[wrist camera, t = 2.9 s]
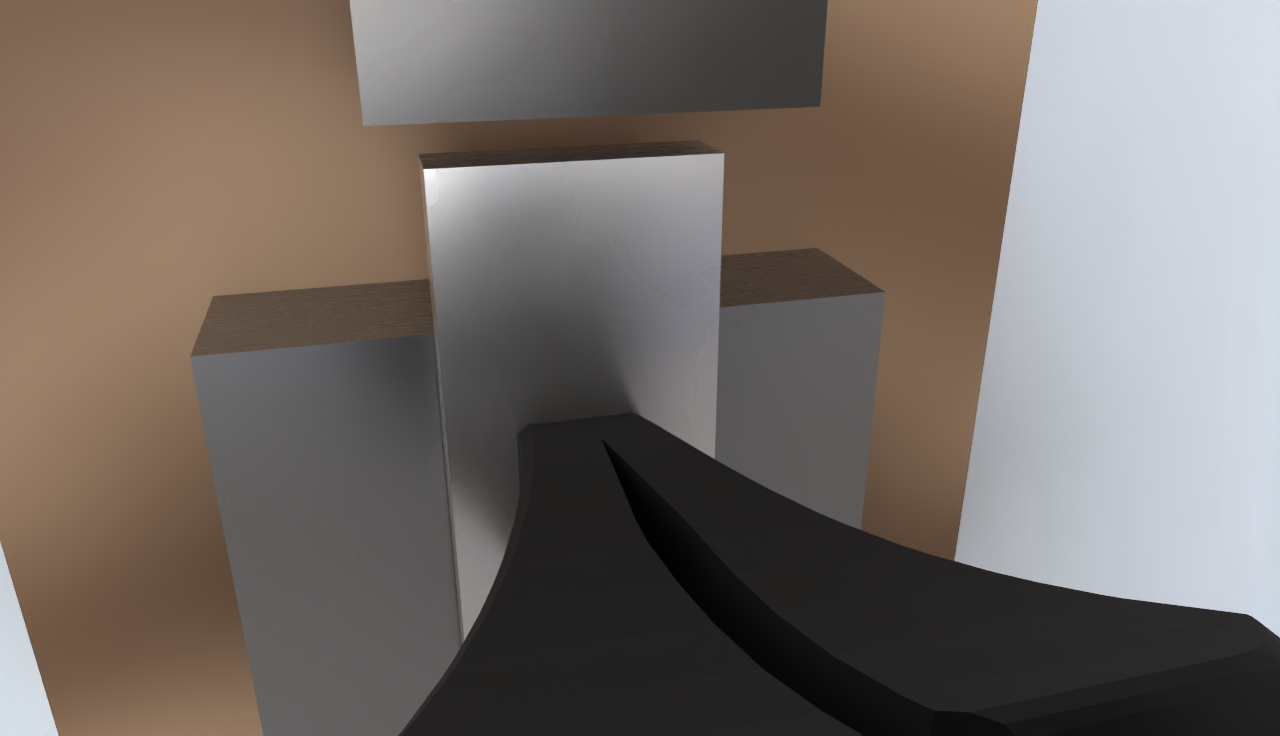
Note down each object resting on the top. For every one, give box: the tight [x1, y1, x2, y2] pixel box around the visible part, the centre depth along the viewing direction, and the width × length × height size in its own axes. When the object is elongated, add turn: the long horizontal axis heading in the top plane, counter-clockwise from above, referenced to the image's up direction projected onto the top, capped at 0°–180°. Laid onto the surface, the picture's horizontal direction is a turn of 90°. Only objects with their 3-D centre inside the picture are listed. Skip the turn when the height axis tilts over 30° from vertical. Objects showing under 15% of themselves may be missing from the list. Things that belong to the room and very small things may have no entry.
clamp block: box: [190, 0, 886, 736], centre depth 13 cm, size 16×8×4 cm, turn 0°
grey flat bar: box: [418, 140, 724, 645], centre depth 12 cm, size 14×3×1 cm, turn 0°
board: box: [0, 0, 1038, 736], centre depth 16 cm, size 20×14×2 cm
